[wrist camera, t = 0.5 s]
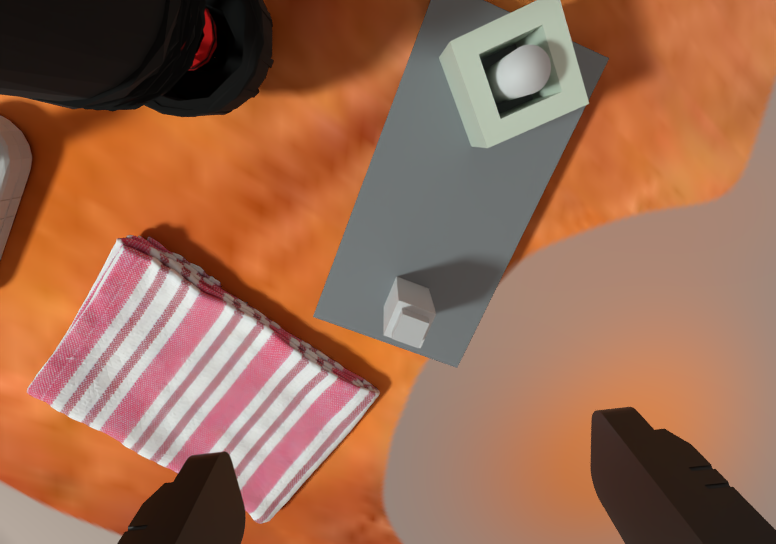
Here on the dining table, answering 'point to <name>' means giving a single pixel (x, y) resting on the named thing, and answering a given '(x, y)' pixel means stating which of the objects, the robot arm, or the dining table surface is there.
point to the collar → (519, 27)
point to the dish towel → (199, 376)
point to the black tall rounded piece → (136, 53)
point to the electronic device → (11, 174)
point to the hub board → (445, 196)
